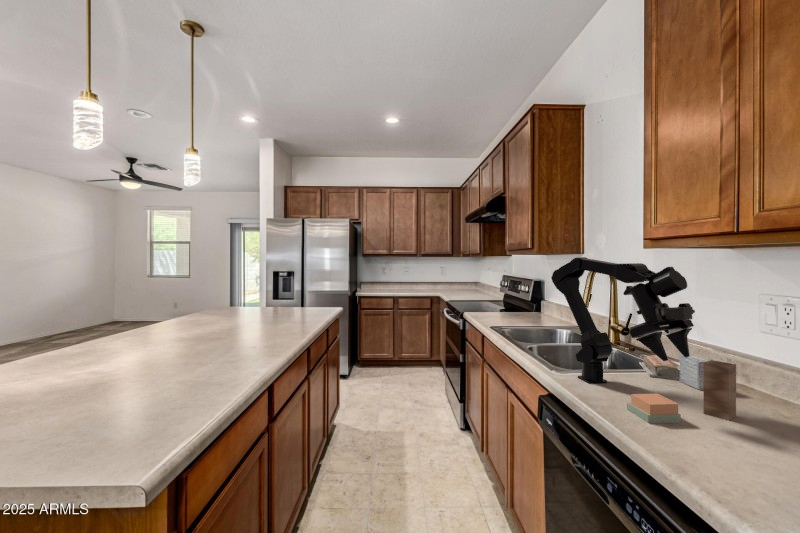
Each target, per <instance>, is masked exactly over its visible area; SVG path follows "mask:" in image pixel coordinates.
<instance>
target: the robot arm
mask: <svg viewBox="0 0 800 533" xmlns="http://www.w3.org/2000/svg"><path fill="white" fill-rule="evenodd" d="M585 271H588V272H591V273H592V272H593V273H597V274H602V275H606V276H610V277H612V278H614V279H615V280H617V281H619V282H622V283H624V284H635V283H637V284H635V285H633V286H632V285H626V287H625V290H624V291H623V293H622V294H623V295H624V296H632V297H633V300H634V302H635V304H636V306H637V308H638V310H636V314H637V315H638V316H639V315H641V316H642V319H644V321H643V322H641V323H638V324H637V325H634V326H631V327H630V329H629V332H628V333H629V334H630V337H631V338H632V339H635V340H636V341H637V342H638V341H639V342H640V343H641V344H642V345H644V346H645V347H646V348H647V349H649V350H650V351H651V352H652V353H653V354H654V355H657V356H658V357H659V358H660V359H662V360H663V361H667V360H669V358H668V355H667V352H666V350H665V347H664V345H663V342H662V335H663V332H664V333H666V334H665V336H666V337H667V339H668V340H669V341H670V343H672V344H673V345H674V347H675V348H676V349H677V351H679V353H680V354H681V356H684V357H689V356H690V349H689V342H688V341H689V340H688V335H689V334H690V332H691V331H692V330H693V327H695V325H694V323H693V321H692V320H693V314H695V312H696V310H695V309H693V306H691V304H690V303H689V302H688V303H687V302H684V303H679V304H678V306H677V307H676V306H675V307H670V306H669V305H668V303H666V302H664V303H663V302H662V300H661V299H660V297H661V298H667V297H669V296H671V295H674V294H676V293H679V292H681V291H684V290H686V289H687V288H688V281H687V279H686V278H685V276H683V275H682V274H681V273H680V272H679V271H678V270H675V269H674V267H673V266H666V267H664V268H663V269H662V270H660V271H658V272H655V271H652V270H650V269H649V268H648V266H647V265H646V264H645V263H642V262H641V263H639V262H638V263H635V262H634V263H629V262H628V263H617V262H611V261H610V262H609V261H605V260H599V259H593V258H588V257H582V256H581V257H580V256H579V257H578V256H577V257H574V258H573V259H571V261H569V262H568V263H566V264H564V265H562V266H560V267H559V268H558V269H555V270H554V271H553V273H552V275H551V277H550V278H551V282H552V283H553V285H554V286H555V288H556V290H558V291H559V293H561V294H562V295H563V296H564V297H565V300H566V302H567V305H568V307H569V308H570V311H571V314H572V316H573V318H574V320H575V323H576V324H577V326H578V329H579V331H580V334H581V335H580V336H581V337H580V345H581V349H580V350H579V351H578V352H577V353H576V354H575V358H576V361H577V362H579V363H581V375H577V378H578V379H580V380H582V381H584V382H586V383H587V384H600V383H608V380H607V379H604V364H603V362H607V361H608V359H609V358H610V356H611V355H612V352H613V346H612V345H613V343H612V342H611V340H610V338H609V334H608V333H607V332H605V331H604V332H601V331H600V330H599V329H598V328H597V326H596V323H595V322H594V319H593V318H592V316H591V314H590V311H589V308H588V307H587V305H586V302H585V300H584V298H583V296H582V294H581V292H580V284H581V282H580V278H581V277H582V276H583V275H584V274H585ZM645 282H646V283H645Z"/></svg>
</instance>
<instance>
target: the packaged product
mask: <svg viewBox="0 0 800 533" xmlns="http://www.w3.org/2000/svg"><path fill="white" fill-rule="evenodd" d="M638 363H639V365H640V366H641V368H642V369H643V371H644V372H645V371H646V372H647V373H646V372H645V373H646V374H647V375H648V376H649V378H655V379H663V380H664V379H666V380H674V381H680V370H679V368H678V367H677V366H676V365H675V364H674V363H673V362H672V361H671V360H670V359H668V360H667V361H663V360H662V359H660V358H659V357H658V356H657V355H656V354H653V355H652V354H651V355H646V356H644V357H643V361H642V362H641V361H638Z"/></svg>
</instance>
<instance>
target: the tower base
mask: <svg viewBox="0 0 800 533" xmlns="http://www.w3.org/2000/svg"><path fill="white" fill-rule="evenodd" d="M626 410H627V411H628V412H630V413H631V414H633V415H635V416H636V417H638V418H639V419H641V420H643V421H644V422H646V423H648V424H654V423H655V424H657V423H659V424H660V423H661V424H663V423H666V424H667V423H670V424H671V423H673V424H674V423H681V422H682V421H681V419H682V418H681V414H680V413H678V414H663V415H650V414H648V413H646V412H644V411H643V410H641V409H639V408H638V407H636V406H634V405H633V404H631V402H627V403H626Z"/></svg>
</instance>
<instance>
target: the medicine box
mask: <svg viewBox="0 0 800 533" xmlns="http://www.w3.org/2000/svg"><path fill="white" fill-rule="evenodd" d="M689 355H690V354H689ZM707 361H710V360H708V359H706V358H705V359H704V358H702V357H699V356H695V355H692V354H691V355H690V356H689V357H684V356H683V355H680V356H679V372H680V380H679V382H680V383H681V384H684V385H687V386H690V387H692V388H694V389H695V390H696V389H697V390H698V391H704V363H705V362H707Z"/></svg>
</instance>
